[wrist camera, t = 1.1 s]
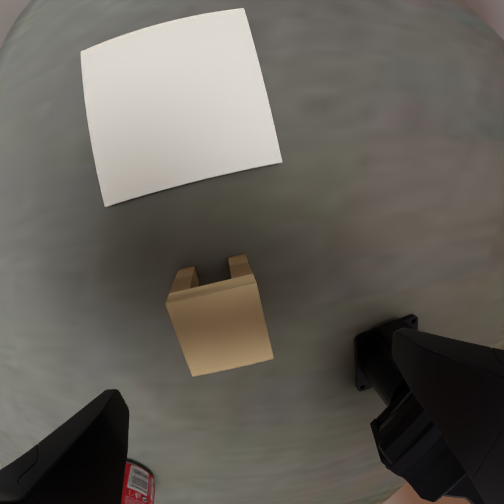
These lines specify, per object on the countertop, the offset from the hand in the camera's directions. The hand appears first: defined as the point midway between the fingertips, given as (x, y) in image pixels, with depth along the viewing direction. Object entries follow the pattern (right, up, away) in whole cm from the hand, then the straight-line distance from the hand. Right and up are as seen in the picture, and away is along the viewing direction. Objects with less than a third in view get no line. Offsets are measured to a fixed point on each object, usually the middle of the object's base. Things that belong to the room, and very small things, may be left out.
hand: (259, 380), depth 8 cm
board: (-5, +14, +9) cm, 18 cm away
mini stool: (-3, +1, +13) cm, 13 cm away
